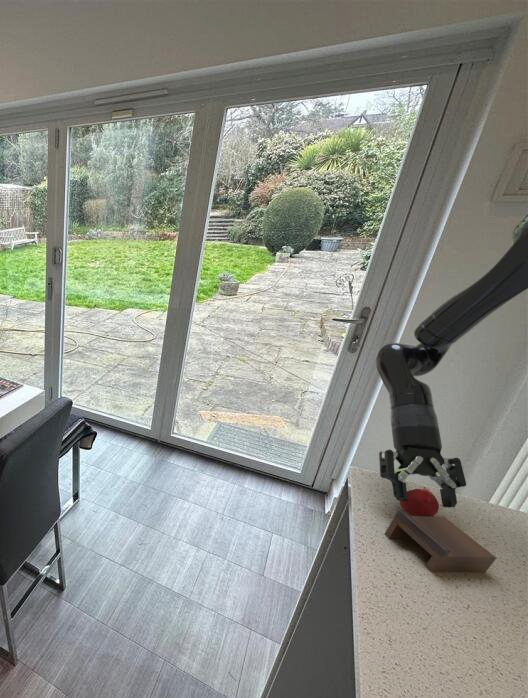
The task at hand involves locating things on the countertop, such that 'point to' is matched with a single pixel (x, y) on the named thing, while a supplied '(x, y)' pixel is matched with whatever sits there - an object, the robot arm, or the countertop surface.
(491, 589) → the countertop surface
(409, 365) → the robot arm
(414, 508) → the red rounded lump
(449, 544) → the shelf
